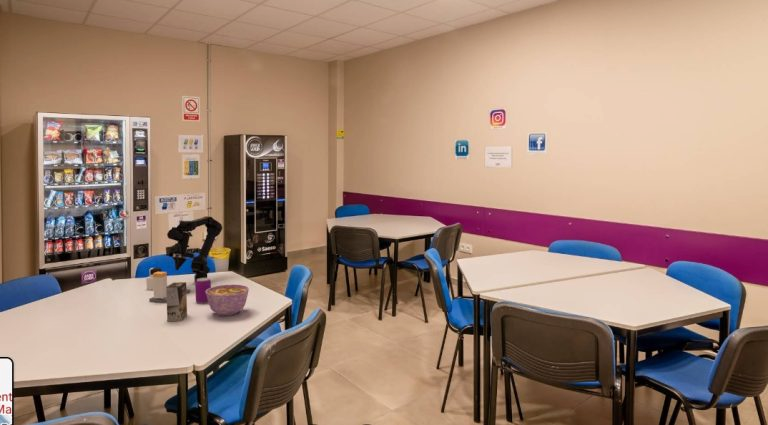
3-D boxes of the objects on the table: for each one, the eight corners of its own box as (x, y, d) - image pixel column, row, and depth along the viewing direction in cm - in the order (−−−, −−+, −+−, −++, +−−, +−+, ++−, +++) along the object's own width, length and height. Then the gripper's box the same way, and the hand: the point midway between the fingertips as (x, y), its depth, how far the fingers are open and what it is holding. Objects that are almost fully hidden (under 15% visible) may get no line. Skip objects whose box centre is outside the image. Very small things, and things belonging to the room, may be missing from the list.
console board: (173, 291, 272) (173, 288, 272) (190, 292, 271) (189, 289, 270) (149, 301, 252) (149, 298, 252) (166, 303, 250) (166, 299, 250)
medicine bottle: (165, 287, 280) (164, 266, 279) (158, 290, 273) (157, 269, 272) (153, 286, 281) (152, 266, 279) (146, 290, 274) (145, 269, 272)
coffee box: (181, 321, 223) (180, 287, 221) (166, 321, 222) (165, 287, 221) (187, 314, 232) (186, 282, 230) (173, 315, 232) (172, 282, 230)
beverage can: (214, 300, 255) (214, 278, 254) (203, 304, 248) (202, 281, 247) (203, 298, 258) (203, 276, 257) (192, 302, 251) (191, 280, 250)
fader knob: (158, 295, 255) (158, 271, 254) (167, 296, 255) (166, 272, 253) (154, 297, 252) (153, 273, 250) (162, 298, 251) (161, 273, 249)
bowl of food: (215, 306, 246) (214, 283, 245) (254, 307, 245) (254, 284, 244) (199, 319, 226) (198, 295, 225) (241, 320, 225) (241, 296, 224)
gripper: (160, 239, 273) (154, 267, 270) (179, 239, 263) (173, 268, 259) (178, 243, 282) (172, 270, 278) (197, 244, 271) (191, 271, 268)
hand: (176, 270), depth 271 cm, fingers closed
